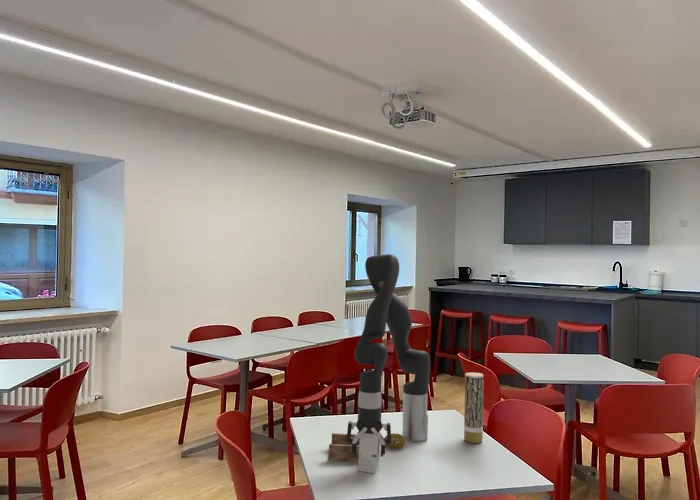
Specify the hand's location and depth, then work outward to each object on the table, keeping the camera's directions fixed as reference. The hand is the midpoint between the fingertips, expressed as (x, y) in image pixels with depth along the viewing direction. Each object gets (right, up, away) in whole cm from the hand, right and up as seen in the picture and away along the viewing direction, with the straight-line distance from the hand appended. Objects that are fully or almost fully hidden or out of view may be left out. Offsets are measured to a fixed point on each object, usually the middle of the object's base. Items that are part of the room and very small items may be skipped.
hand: (368, 455), depth 169 cm
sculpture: (+10, -6, +22) cm, 25 cm away
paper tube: (+41, -6, +29) cm, 50 cm away
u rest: (-6, -5, +12) cm, 15 cm away
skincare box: (0, -5, 0) cm, 5 cm away
